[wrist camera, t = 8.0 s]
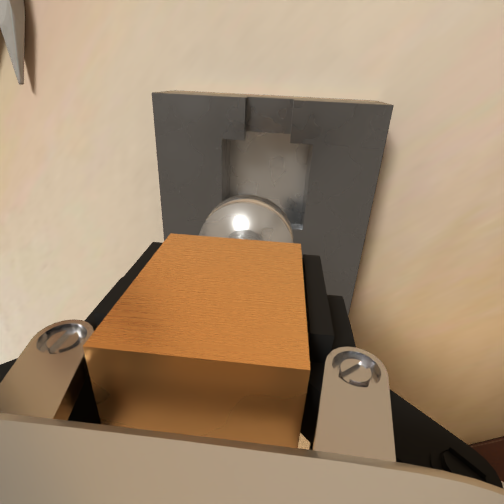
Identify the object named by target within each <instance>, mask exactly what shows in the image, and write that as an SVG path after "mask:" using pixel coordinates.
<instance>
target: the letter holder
mask: <svg viewBox="0 0 504 504" xmlns="http://www.w3.org/2000/svg"><path fill="white" fill-rule="evenodd" d="M469 446H470V447H471V448H473V449H474V450H476V451H477V452H478V453H479V454H480V455H481V456H483V457H484V458H485V459H486V460H487V461H488V462H489V464H490V465H491V466H492V467H493V468H494V470H495V471H496V473H497V475H498V476H499V478H500V480H501V481H502V482H504V437H500V438H496V439H492V440H487V441H483V442H479V443H475V444H471V445H469Z"/></svg>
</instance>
